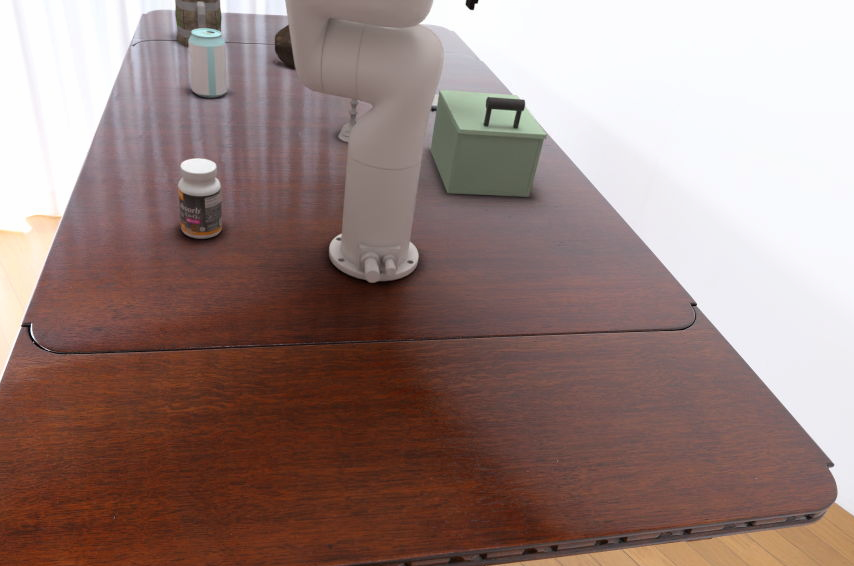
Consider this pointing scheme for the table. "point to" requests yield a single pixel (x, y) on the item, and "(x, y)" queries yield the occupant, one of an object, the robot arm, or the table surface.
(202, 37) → the can
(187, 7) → the mug
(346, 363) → the table surface
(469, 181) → the dish box
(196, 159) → the pill bottle
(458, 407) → the table surface
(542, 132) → the lid
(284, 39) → the dark brown bone
